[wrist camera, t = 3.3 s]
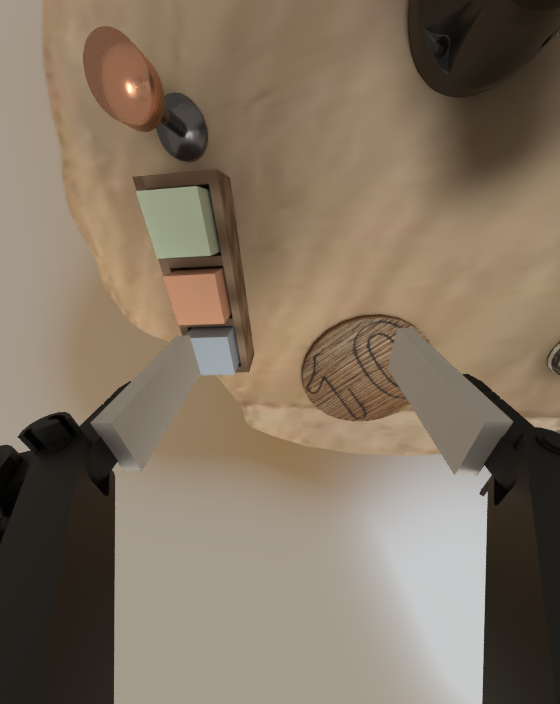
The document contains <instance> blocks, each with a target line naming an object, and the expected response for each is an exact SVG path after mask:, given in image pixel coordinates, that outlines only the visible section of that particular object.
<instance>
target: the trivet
mask: <svg viewBox="0 0 560 704" xmlns="http://www.w3.org/2000/svg"><path fill="white" fill-rule="evenodd" d="M397 328H412V329H413V330H415V331H416V332H417V333H418V334H419V335H420V336H421V337H422V338H423V339H424V340H425V341H426V342H428V343H429V344H430V342H429V340H428V339H427V338H426V337H425V336H424V335H423V334H422V333H421V332H420V331H419V330H418V329H417V328H416V327H415V326H414V325H412V324H410V323H408V322H406V321H404V320H402V319H400V318H397V317H391V316H386V315H367V316H359V317H356V318H353V319H350V320H346V321H343V322H341V323H339V324H338V325H336V326H334V327H332V328H331V329H329V330H327V331H326V332H325V333H324V334H323V335H322V336H321V337H320V338H319V339H318V340H317V341H315V342H314V344H313V346H312V347H311V349H310V350H309V352H308V354H307V355H306V358H305V362H304V366H303V384H304V388H305V391H306V393H307V396H308V398H309V399H310V400H311V401H312V403H313V404H314V405H315V406H316V407H317V408H318V409H320V410H321V411H323V412H324V413H326V414H327V415H330V416H333V417H335V418H338V419H342V420H349V421H370V420H375V419H380V418H384V417H387V416H389V415H392V414H394V413H397V412H399V411H400V410H402V409H404V408H405V407H407V406H409V405H410V403H409V402H408V400H407V399H406V397H405V395H404V394H403V392H402V391H401V389H400V387H399V386H398V384H397V383H396V381H395V379H394V378H393V376H392V375H391V373H390V371H389V370H388V367H389V362H390V358H391V353H392V349H393V344H394V340H395V335H396V331H397Z"/></svg>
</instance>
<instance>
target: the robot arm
mask: <svg viewBox="0 0 560 704" xmlns="http://www.w3.org/2000/svg"><path fill="white" fill-rule="evenodd" d="M408 26H409V39H410V46H411V51H412V55H413V58H414V61H415V64H416V66H417V68H418V71H419V72H420V74H421V76H422V77H423V79H424V80H425V81H426V82H427V83H428V84H429V85H430V86H431V87H432V88H433V89H435V90H436V91H438V92H440V93H442V94H444V95H448V96H453V97H464V96H470V95H474V94H477V93H480V92H483V91H485V90H487V89H489V88H491V87H493V86H495V85H496V84H498V83H499V82H501V81H502V80H504V79H505V78H507V77H508V76H510V75H511V74H513V73H514V72H516V71H517V70H519V69H520V68H521V67H522V66H524V65H525V64H526V63H527V62H529V61H530V60H531V59H532V58H533V57H534V56H535V55H536V54H537V53H538V52H540V51H541V50H542V49H543V48H544V46H545V45H546V44H547V43H548V42H549V41H550V40H551V39H552V38H553V37H554V36H555V34H556V33H557V32H558V31H559V29H560V0H410V1H409V15H408ZM388 370H389V371H390V373H391V375H392V376H393V378H394V379H395V381H396V383H397V384H398V386H399V387H400V389H401V391H402V392H403V394H404V395H405V397H406V399H407V400H408V402H409V403H410V405H411V406H412V408H413V410H414V411H415V413H416V414H417V416H418V418H419V419H420V421H421V422H422V424H423V426H424V427H425V429H426V430H427V432H428V433H429V435H430V437H431V438H432V440H433V441H434V443H435V445H436V446H437V448H438V449H439V451H440V453H441V454H442V456H443V457H444V459H445V460H446V462H447V464H448V465H449V467H450V468H451V470H452V472H453V473H454V475H478V474H479V472H480V471H481V469H482V468H483V466H484V465H485V466H486V468H487V469H488V470H489V471H490V473H491V474H492V476H491V477H490V478H489V480H488V481H487V483H486V484H485V485H484V487H483V488H482V489H481V492H480V495H482V496H484V495H485V494H486V492H487V491H488V508H487V547H486V586H485V587H486V588H485V626H484V665H483V703H482V704H560V434H559V433H557V432H554V431H552V430H548V429H544V428H537V427H534V426H533V425H532V424H530V423H529V422H528V421H527V420H526V419H525V418H523V417H522V416H521V415H520V414H519V413H518V412H516V411H515V410H514V409H513V408H512V407H511V406H510V405H508V404H507V403H506V402H505V401H504V400H503V399H500V397H499V396H498V395H497V394H496V393H494V392H492V390H491V389H490V388H489V387H488V386H486V385H485V384H484V383H483V382H482V381H480V380H478V379H476V378H474V377H472V376H471V375H469V374H461V373H460V372H459V371H458V370H457V369H456V368H455V367H454V366H452V365H451V364H450V363H449V362H448V361H447V360H446V359H445V358H444V357H443V356H442V355H441V354H439V353H438V352H437V351H436V350H435V349H434V348H433V347H432V346H431V345H430V344H429V343H428V342H426V341H425V340H424V339H423V338H422V337H421V336H420V335H419V334H418V333H417V332H416V331H415V330H413V329H412V328H397V331H396V335H395V340H394V344H393V349H392V353H391V358H390V362H389V367H388ZM200 373H201V372H200V369H199V365H198V362H197V359H196V355H195V352H194V349H193V345H192V342H191V339H190V335H187V336H176V337H175V338H174V339H173V340H172V341H171V342H170V343H169V344H168V345H167V347H166V348H165V349H164V350H163V351H161V353H160V354H159V355H158V356H157V357H156V358H155V359H154V360H153V361H152V362H151V363H150V364H149V365H148V366H147V367H146V368H145V369H144V370H143V371H142V372H141V373H140V374H139V375H138V376H137V377H136V378H135V379H134V380H133V381H130V382H128V383H126V384H125V385H123V386H122V387H120V388H119V389H118V390H117V391H116V392H114V393H113V395H112V396H111V398H108V399H107V400H106V401H105V402H104V404H102V405H101V406H100V407H99V408H98V409H97V410H96V411H95V412H94V413H93V414H92V415H91V416H90V417H89V418H88V419H87V420H86V421H84V423H82V425H80V426H78V424H77V423H76V422H75V420H74V419H73V418H72V417H71V415H70V414H68V413H66V412H58V413H55V414H51V415H48V416H46V417H43V418H41V419H39V420H37V421H35V422H34V423H32V424H30V425H29V426H28V427H26V428H25V429H24V430H23V431H22V432H21V433H20V435H19V436H18V438H20V439H21V441H22V442H23V443H24V444H25V445H26V446H27V447H28V448H29V449H30V450H31V451H27V452H23V453H18V452H17V451H16V450H15V449H14V448H13V447H12V446H9V445H3V446H0V704H114V578H115V569H114V568H115V564H114V563H115V475H114V472H113V471H112V469H113V467H114V465H115V464H116V463H117V462H118V463H119V464H120V465H121V467H122V468H123V470H126V471H142V470H143V468H144V466H145V465H146V463H147V461H148V460H149V458H150V456H151V455H152V453H153V451H154V450H155V448H156V446H157V445H158V443H159V442H160V440H161V438H162V436H163V435H164V433H165V431H166V430H167V428H168V427H169V425H170V423H171V422H172V420H173V418H174V417H175V415H176V413H177V412H178V410H179V408H180V407H181V405H182V403H183V402H184V400H185V398H186V397H187V395H188V393H189V392H190V390H191V388H192V387H193V385H194V383H195V382H196V380H197V378H198V377H199V375H200Z"/></svg>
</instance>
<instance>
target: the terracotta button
mask: <svg viewBox="0 0 560 704" xmlns="http://www.w3.org/2000/svg"><path fill="white" fill-rule="evenodd" d="M163 279H164V282H165V285H166V288H167V292H168V295H169V298H170V301H171V304H172V307H173V311H174V314H175V317H176V320H177V323H178V325H202V324H225V322H226V321H227V319H228V318H229V316H230V315H231V309H230V303H229V298H228V292H227V287H226V281H225V275H224V270H223V268H209V269H191V270H176V271H174V272H172V273H169V274H167V275H165V276H163Z"/></svg>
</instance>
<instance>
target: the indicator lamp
mask: <svg viewBox="0 0 560 704" xmlns="http://www.w3.org/2000/svg"><path fill="white" fill-rule="evenodd" d="M83 64H84V71H85V75H86V79H87V82H88V85H89V87H90V89H91V92H92V94H93V95H94V97H95V99H96V100H97V102H98V103H99V105H100V106H101V107H102V108H103V109H104V110H105V111H106V112H107V113H108V114H109V115H110V116H112V117H113V118H115V119H117V120H118V121H120V122H122V123H124V124H126V125H127V126H129V127H131V128H133V129H135V130H137V131H141V132H148V131H151V130H153V129H155V128H157V133H158V136H159V138H160V141H161V143H162V144H163V146H164V147H165V149H166V150H167V151H168V152H169V153H170V154H171V155H172V156H174V157H175V158H177V159H179V160H181V161H184V162H194V161H196V160H198V159H199V158H200V157H201V156H202V155H203V153H204V152H205V149H206V146H207V141H208V132H207V126H206V122H205V119H204V117H203V115H202V113H201V111H200V110H199V109H198V107H197V106H196V105H195V104H194V103H193V102H192V101H191V100H190V99H189V98H188V97H186V96H185V95H183V94H180V93H171V94H168V95H166V96H165V97H164V91H163V87H162V83H161V81H160V78H159V76H158V74H157V72H156V70H155V68H154V67H153V65H152V64H151V63H150V61H149V60H148V59H147V58H146V57H145V56H144V55H143V54H142V53H141V51H140V50H139V49H138V48H137V47H136V46H135V45H134V44H133V43H132V42H131V41H130V39H129V38H128V37H126V36H125V35H124V34H123V33H122V32H120V31H118V30H117V29H114V28H112V27H107V26H106V27H99V28H97V29H95V30H94V31H92V32H91V33H90V35H89V36H88V38H87V40H86V43H85V46H84V53H83Z"/></svg>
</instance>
